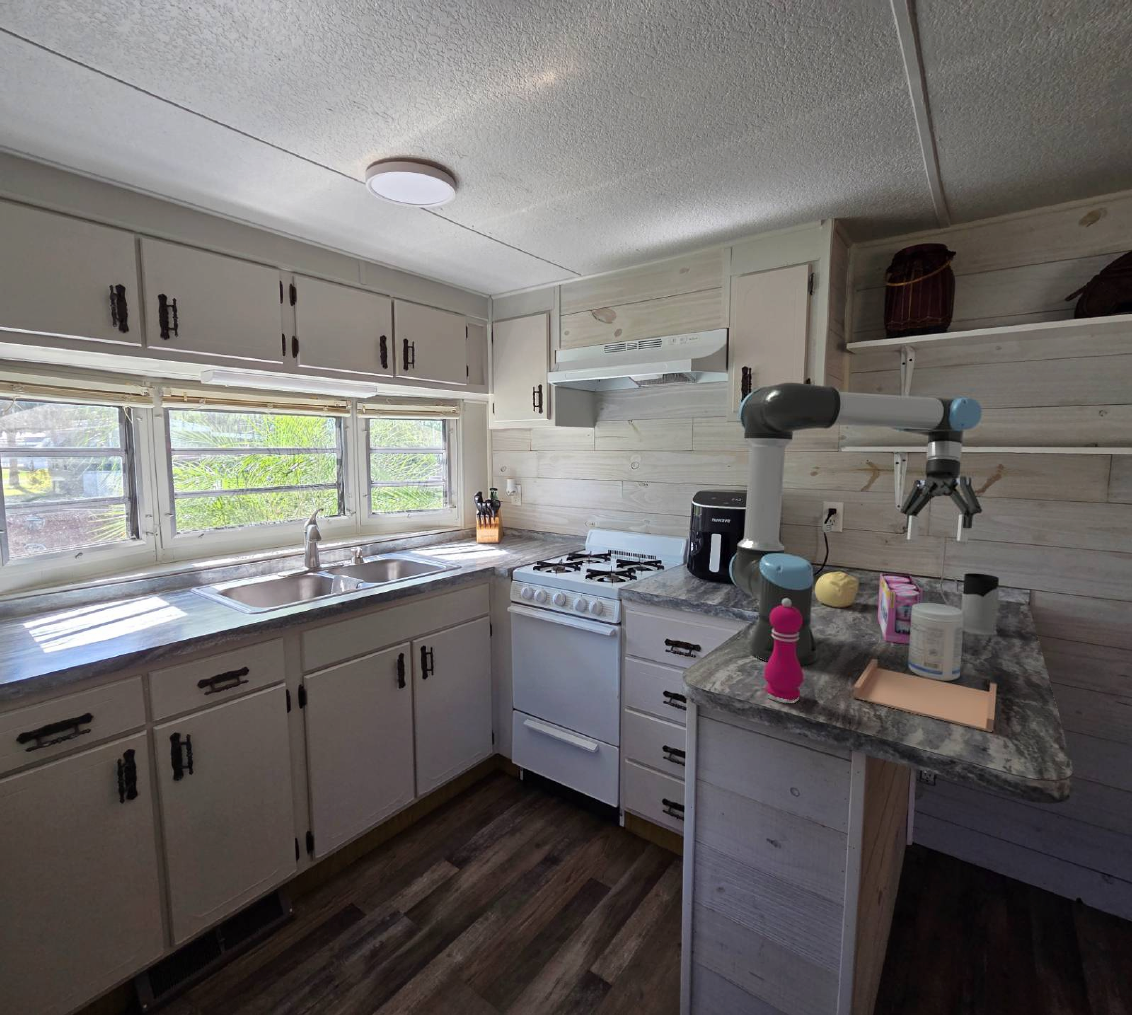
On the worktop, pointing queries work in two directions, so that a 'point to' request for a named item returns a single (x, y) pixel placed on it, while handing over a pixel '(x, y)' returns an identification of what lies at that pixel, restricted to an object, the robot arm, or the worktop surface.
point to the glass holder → (978, 603)
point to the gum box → (897, 606)
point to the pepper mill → (784, 653)
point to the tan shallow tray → (927, 697)
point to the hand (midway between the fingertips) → (936, 540)
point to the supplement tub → (936, 641)
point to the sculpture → (836, 589)
